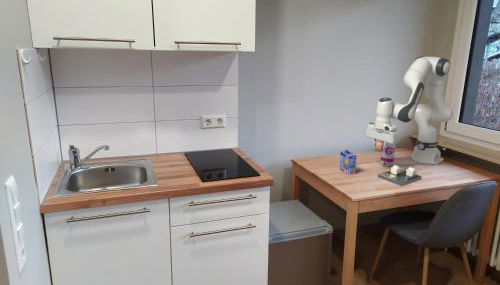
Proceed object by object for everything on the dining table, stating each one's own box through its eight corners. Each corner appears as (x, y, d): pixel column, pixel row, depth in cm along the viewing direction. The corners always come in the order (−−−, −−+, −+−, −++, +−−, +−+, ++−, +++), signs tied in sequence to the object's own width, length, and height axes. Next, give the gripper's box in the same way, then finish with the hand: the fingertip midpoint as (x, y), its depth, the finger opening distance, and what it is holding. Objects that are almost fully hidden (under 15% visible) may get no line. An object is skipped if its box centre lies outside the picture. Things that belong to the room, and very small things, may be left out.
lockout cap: (378, 149, 227) (379, 138, 225) (384, 151, 223) (385, 140, 221) (373, 150, 225) (374, 139, 223) (379, 152, 221) (381, 141, 219)
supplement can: (394, 167, 237) (397, 145, 233) (380, 166, 239) (383, 144, 235) (391, 163, 245) (394, 141, 241) (379, 162, 246) (381, 140, 242)
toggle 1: (394, 171, 222) (395, 164, 221) (400, 173, 219) (401, 166, 218) (390, 172, 220) (391, 165, 219) (396, 174, 217) (397, 167, 216)
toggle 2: (409, 173, 219) (410, 166, 218) (416, 175, 216) (417, 168, 215) (405, 174, 217) (407, 167, 216) (412, 176, 214) (413, 169, 213)
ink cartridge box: (338, 169, 230) (340, 147, 226) (345, 168, 232) (348, 147, 228) (347, 175, 221) (349, 152, 217) (355, 174, 223) (357, 151, 219)
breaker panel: (397, 171, 229) (397, 166, 228) (421, 179, 217) (421, 174, 216) (377, 177, 219) (378, 172, 218) (401, 185, 206) (401, 180, 205)
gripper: (364, 122, 226) (362, 143, 230) (393, 129, 210) (390, 152, 214) (371, 120, 229) (369, 142, 233) (400, 128, 213) (397, 150, 217)
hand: (379, 146), depth 223 cm, fingers closed on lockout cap, 5 cm apart
